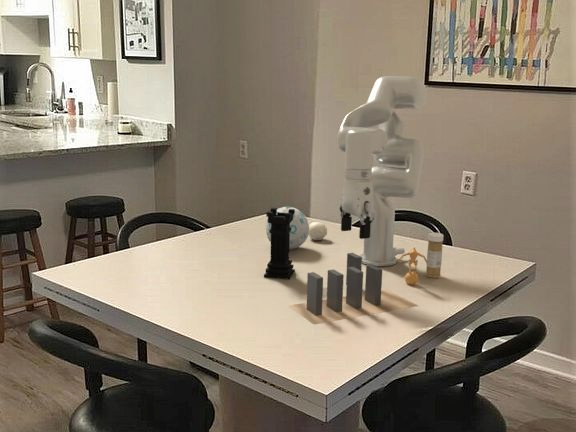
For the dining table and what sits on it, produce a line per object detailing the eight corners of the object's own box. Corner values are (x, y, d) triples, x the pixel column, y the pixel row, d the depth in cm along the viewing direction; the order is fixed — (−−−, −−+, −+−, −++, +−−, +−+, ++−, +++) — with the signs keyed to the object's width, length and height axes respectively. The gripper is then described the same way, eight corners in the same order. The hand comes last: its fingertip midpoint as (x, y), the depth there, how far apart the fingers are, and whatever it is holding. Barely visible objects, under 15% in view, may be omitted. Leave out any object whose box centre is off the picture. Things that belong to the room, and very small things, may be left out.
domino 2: (332, 305, 173) (333, 269, 171) (342, 311, 169) (343, 274, 167) (326, 306, 172) (327, 270, 170) (336, 312, 168) (337, 275, 166)
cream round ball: (323, 243, 236) (323, 225, 235) (304, 240, 239) (305, 223, 238) (329, 239, 242) (330, 221, 241) (312, 236, 245) (312, 219, 244)
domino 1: (312, 308, 171) (313, 272, 168) (321, 314, 166) (323, 277, 164) (306, 309, 170) (307, 272, 168) (315, 316, 165) (316, 278, 163)
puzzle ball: (258, 251, 224) (258, 209, 221) (276, 241, 237) (276, 201, 234) (299, 257, 218) (300, 213, 215) (314, 246, 232) (316, 205, 228)
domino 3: (351, 285, 191) (352, 252, 189) (360, 290, 186) (362, 257, 184) (345, 286, 190) (347, 253, 188) (355, 291, 186) (356, 257, 183)
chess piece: (289, 279, 195) (291, 214, 190) (263, 277, 196) (264, 212, 192) (294, 271, 203) (296, 209, 198) (269, 269, 204) (270, 207, 200)
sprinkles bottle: (435, 273, 204) (438, 231, 201) (443, 277, 200) (446, 235, 197) (422, 274, 202) (425, 232, 199) (430, 279, 198) (433, 236, 195)
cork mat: (388, 291, 186) (388, 289, 186) (418, 307, 174) (418, 305, 174) (288, 306, 172) (288, 305, 172) (313, 325, 160) (313, 324, 160)
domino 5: (370, 299, 178) (371, 264, 176) (380, 304, 174) (382, 269, 172) (364, 299, 178) (366, 264, 175) (374, 305, 173) (376, 270, 171)
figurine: (425, 283, 193) (428, 244, 191) (426, 290, 188) (428, 250, 185) (397, 281, 195) (399, 243, 192) (396, 288, 189) (399, 248, 186)
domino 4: (351, 302, 176) (353, 266, 174) (361, 308, 171) (363, 271, 169) (345, 303, 175) (347, 267, 173) (355, 309, 171) (357, 272, 168)
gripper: (387, 178, 175) (383, 240, 178) (352, 169, 190) (350, 227, 193) (363, 179, 171) (360, 242, 175) (330, 170, 187) (328, 229, 190)
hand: (355, 234), depth 184 cm, fingers open, 9 cm apart
